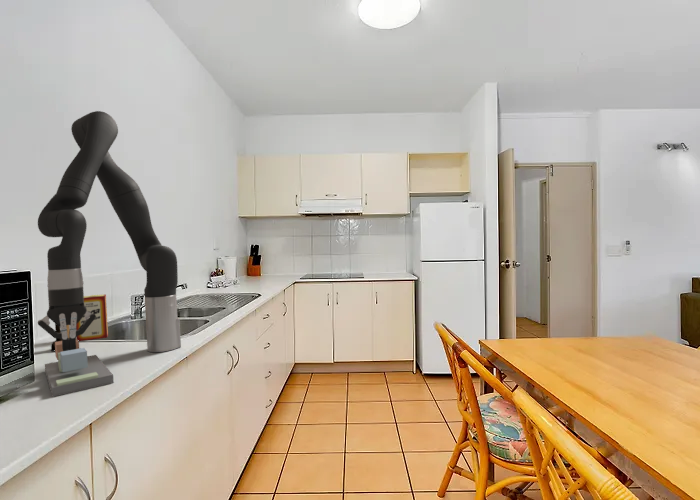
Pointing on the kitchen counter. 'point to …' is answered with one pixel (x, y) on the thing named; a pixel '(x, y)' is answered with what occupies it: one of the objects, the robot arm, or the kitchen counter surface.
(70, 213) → the robot arm
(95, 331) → the baking soda box
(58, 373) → the board
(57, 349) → the terracotta key
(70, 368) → the grey block
